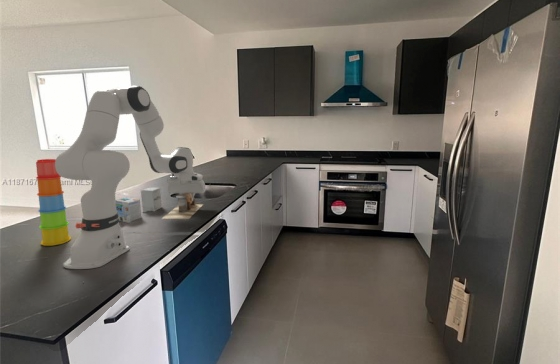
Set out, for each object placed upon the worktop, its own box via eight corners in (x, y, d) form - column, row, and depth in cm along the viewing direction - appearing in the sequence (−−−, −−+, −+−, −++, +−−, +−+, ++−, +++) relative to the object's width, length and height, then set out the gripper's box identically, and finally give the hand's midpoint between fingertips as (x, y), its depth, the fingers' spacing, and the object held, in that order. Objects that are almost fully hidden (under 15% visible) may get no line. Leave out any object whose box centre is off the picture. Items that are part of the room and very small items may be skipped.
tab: (189, 205, 166) (188, 194, 164) (183, 205, 166) (182, 194, 164) (192, 202, 171) (191, 192, 169) (186, 202, 171) (186, 192, 169)
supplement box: (154, 213, 162) (152, 190, 159) (142, 212, 164) (140, 190, 161) (162, 209, 169) (160, 187, 167) (150, 208, 171) (148, 187, 168)
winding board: (188, 221, 149) (187, 202, 147) (161, 221, 149) (159, 202, 147) (203, 206, 174) (202, 189, 172) (180, 206, 175) (178, 189, 173)
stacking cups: (53, 237, 131) (39, 158, 124) (76, 236, 131) (63, 158, 124) (34, 246, 121) (17, 162, 114) (59, 246, 121) (44, 161, 114)
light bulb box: (116, 220, 152) (114, 200, 149) (128, 216, 157) (126, 196, 155) (130, 223, 147) (128, 202, 144) (142, 219, 152) (140, 199, 150)
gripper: (164, 177, 162) (167, 202, 165) (202, 177, 161) (203, 202, 164) (169, 175, 168) (171, 199, 171) (205, 175, 167) (207, 199, 170)
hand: (187, 200), depth 168 cm, fingers closed on tab, 3 cm apart
